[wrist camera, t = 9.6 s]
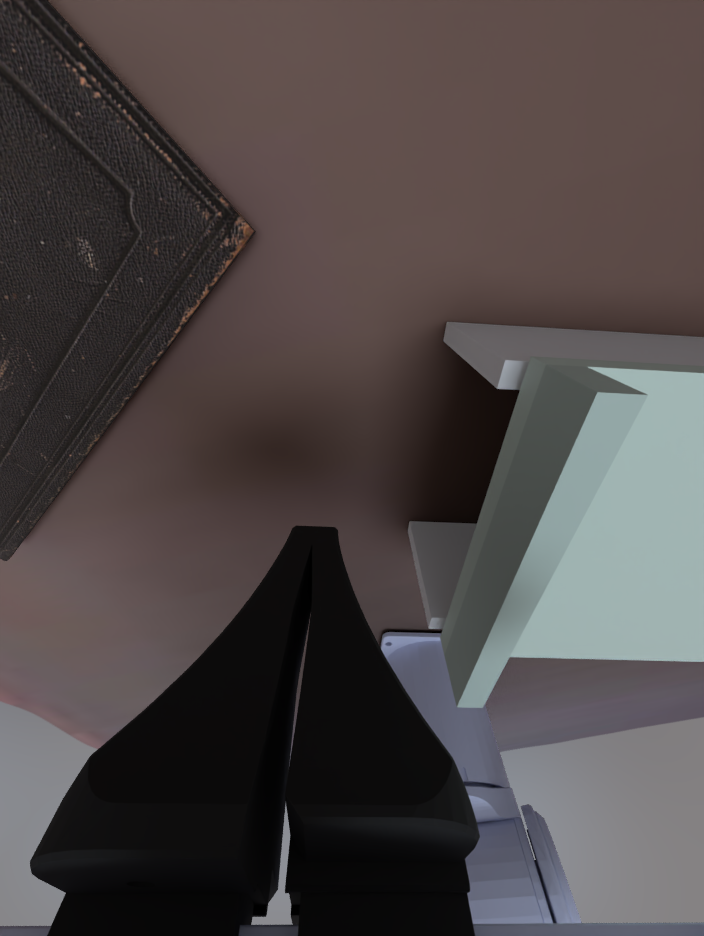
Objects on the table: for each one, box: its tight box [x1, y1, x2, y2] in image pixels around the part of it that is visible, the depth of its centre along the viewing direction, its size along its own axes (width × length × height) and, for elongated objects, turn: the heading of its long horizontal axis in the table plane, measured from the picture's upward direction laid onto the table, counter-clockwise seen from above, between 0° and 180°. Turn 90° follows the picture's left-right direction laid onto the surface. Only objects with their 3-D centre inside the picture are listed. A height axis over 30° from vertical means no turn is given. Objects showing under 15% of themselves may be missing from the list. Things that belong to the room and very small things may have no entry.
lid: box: [440, 356, 704, 708], centre depth 11 cm, size 12×12×3 cm
